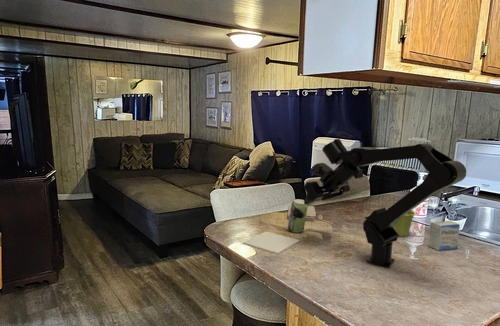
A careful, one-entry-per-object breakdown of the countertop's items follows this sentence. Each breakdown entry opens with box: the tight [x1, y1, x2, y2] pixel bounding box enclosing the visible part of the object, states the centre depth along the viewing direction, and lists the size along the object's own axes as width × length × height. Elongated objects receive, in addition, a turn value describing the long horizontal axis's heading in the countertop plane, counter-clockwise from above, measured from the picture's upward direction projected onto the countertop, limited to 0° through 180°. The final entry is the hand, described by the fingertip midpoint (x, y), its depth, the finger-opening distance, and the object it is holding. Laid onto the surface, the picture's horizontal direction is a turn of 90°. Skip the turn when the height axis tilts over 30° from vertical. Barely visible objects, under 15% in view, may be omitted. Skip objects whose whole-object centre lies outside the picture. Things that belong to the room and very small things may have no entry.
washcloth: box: [287, 205, 317, 222], centre depth 150 cm, size 12×18×3 cm, turn 174°
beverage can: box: [287, 198, 309, 233], centre depth 128 cm, size 6×7×12 cm
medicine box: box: [428, 220, 461, 252], centre depth 114 cm, size 8×4×9 cm, turn 105°
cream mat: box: [242, 231, 300, 255], centre depth 117 cm, size 14×14×1 cm
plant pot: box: [393, 210, 416, 237], centre depth 127 cm, size 9×9×9 cm
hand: (313, 201), depth 122 cm, fingers open, 9 cm apart
